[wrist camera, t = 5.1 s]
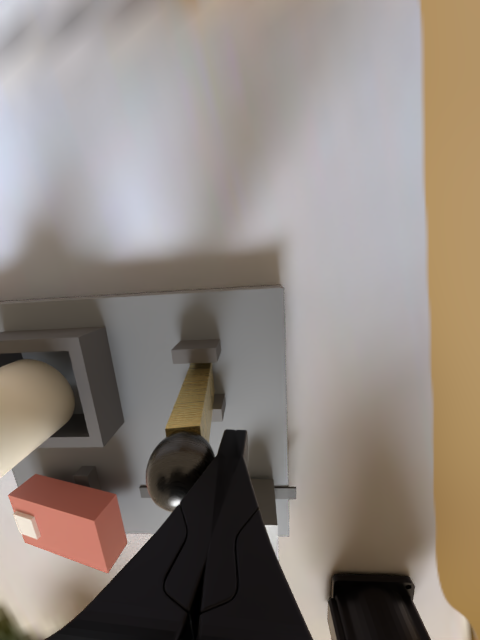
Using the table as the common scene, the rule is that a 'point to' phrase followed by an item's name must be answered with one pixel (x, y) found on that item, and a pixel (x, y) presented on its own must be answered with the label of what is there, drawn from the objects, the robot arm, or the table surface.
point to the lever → (184, 440)
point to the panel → (154, 383)
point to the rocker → (70, 520)
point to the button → (30, 408)
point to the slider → (267, 508)
